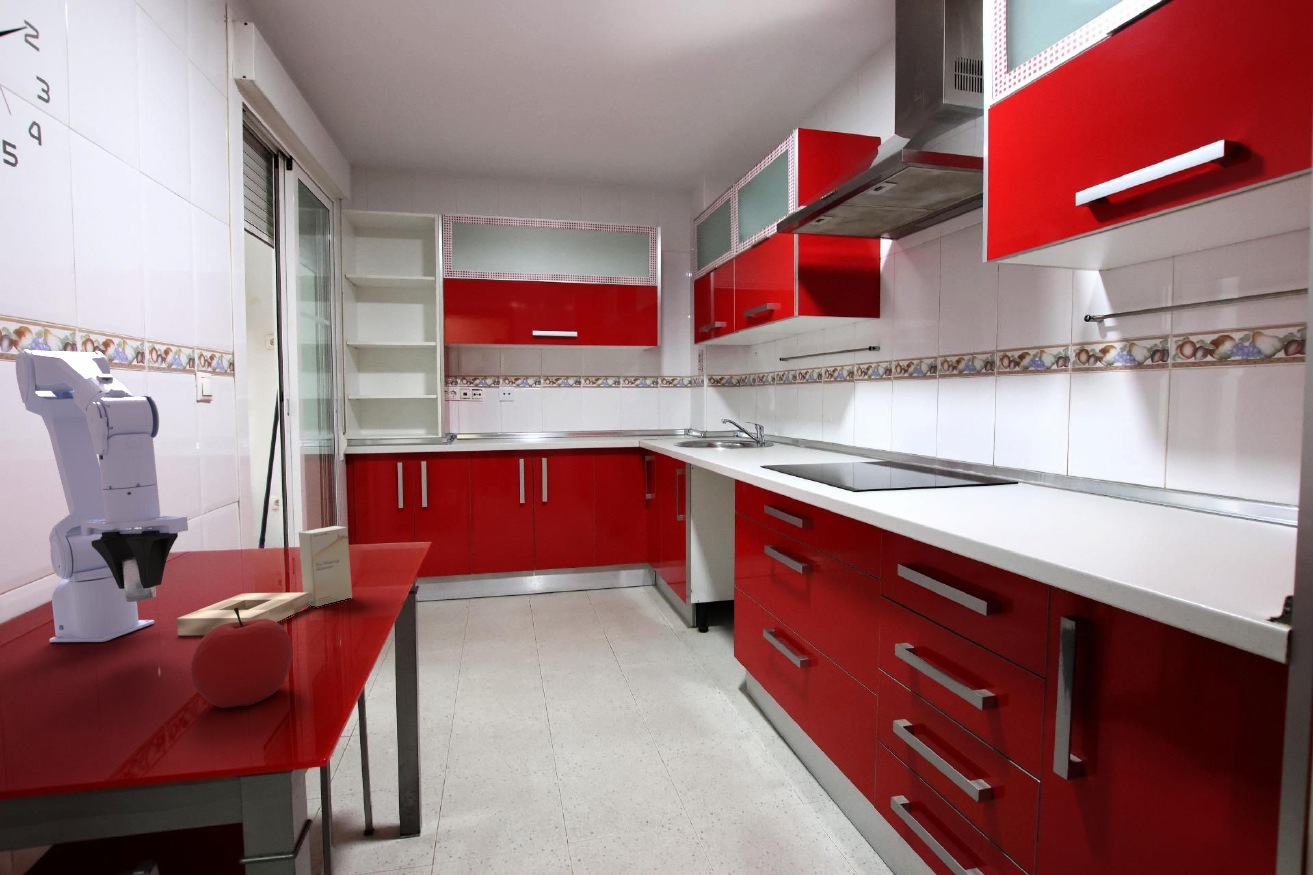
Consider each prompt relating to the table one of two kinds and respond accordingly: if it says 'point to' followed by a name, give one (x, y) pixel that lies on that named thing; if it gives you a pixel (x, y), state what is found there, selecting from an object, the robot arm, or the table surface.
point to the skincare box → (325, 564)
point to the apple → (241, 662)
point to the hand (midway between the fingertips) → (140, 586)
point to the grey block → (134, 582)
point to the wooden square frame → (242, 611)
